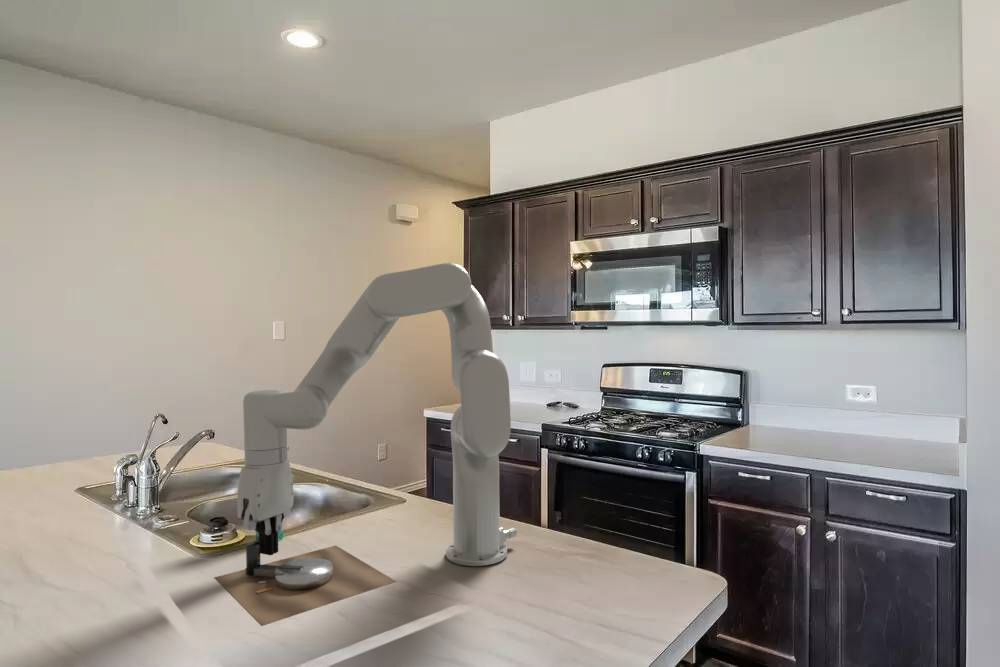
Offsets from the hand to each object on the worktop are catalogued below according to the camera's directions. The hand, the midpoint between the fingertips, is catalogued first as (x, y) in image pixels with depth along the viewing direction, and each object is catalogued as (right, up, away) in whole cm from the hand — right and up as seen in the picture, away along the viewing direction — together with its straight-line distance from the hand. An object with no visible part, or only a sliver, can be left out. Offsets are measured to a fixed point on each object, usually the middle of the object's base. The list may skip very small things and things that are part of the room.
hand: (268, 552), depth 116 cm
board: (+8, -5, -4) cm, 10 cm away
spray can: (-6, -5, +16) cm, 18 cm away
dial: (+5, -3, -4) cm, 7 cm away
